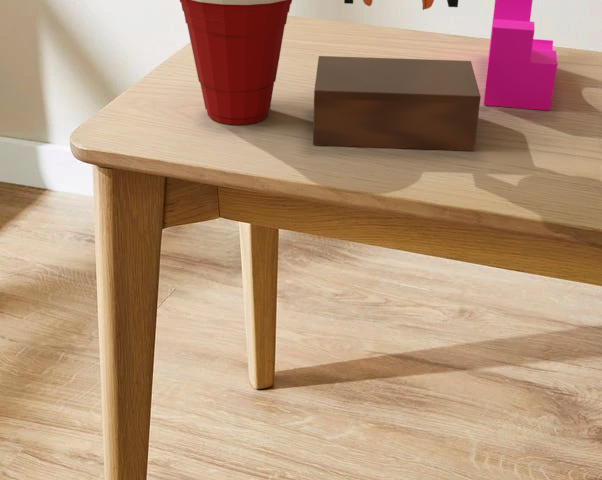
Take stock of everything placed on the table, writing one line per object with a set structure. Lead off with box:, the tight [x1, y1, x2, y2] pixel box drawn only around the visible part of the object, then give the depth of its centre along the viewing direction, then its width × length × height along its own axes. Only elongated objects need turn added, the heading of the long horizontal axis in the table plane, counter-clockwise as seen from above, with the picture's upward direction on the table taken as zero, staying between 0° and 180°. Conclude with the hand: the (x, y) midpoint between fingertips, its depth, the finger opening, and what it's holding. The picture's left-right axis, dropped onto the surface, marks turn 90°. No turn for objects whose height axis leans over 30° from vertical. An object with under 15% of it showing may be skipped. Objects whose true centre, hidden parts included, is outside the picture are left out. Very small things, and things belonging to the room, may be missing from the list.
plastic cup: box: [179, 0, 293, 125], centre depth 88 cm, size 11×11×12 cm
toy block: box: [483, 0, 558, 111], centre depth 97 cm, size 15×6×8 cm, turn 169°
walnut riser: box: [312, 55, 482, 152], centre depth 87 cm, size 14×9×5 cm, turn 87°
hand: (400, 0), depth 83 cm, fingers closed on pot, 8 cm apart
